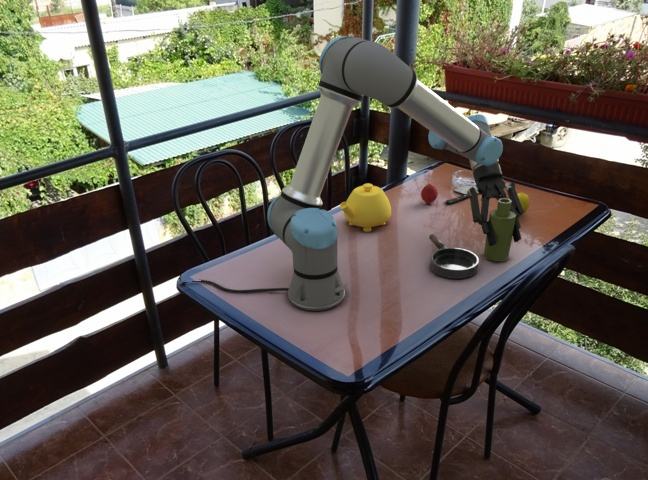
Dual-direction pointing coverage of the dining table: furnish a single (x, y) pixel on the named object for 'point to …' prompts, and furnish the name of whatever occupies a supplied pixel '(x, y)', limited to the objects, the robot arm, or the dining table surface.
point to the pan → (454, 263)
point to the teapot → (367, 207)
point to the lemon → (524, 201)
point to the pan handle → (436, 241)
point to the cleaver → (463, 191)
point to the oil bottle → (501, 231)
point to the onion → (429, 193)
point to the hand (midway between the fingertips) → (505, 242)
